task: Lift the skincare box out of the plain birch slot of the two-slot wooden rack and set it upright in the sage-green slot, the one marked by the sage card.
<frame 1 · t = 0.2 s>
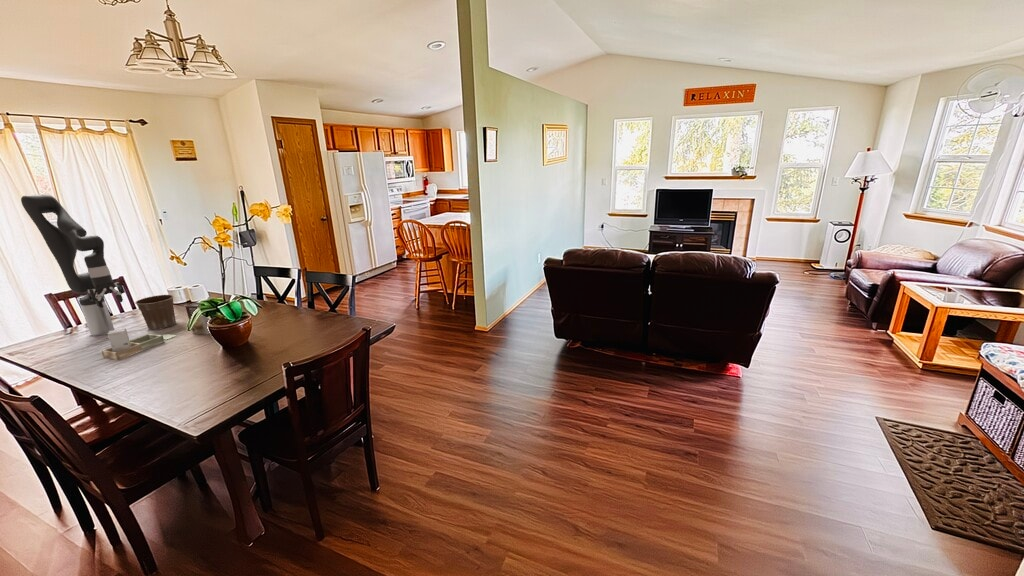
hand: (111, 304, 208), 17 cm above the table, tool pointing down, fingers open, 8 cm apart
two-slot rack: (135, 349, 197), on the table
coffee box: (204, 332, 217), on the table
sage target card: (166, 337, 211), on the table
skincare box: (124, 354, 193), resting in two-slot rack
plant pot: (162, 326, 226), on the table
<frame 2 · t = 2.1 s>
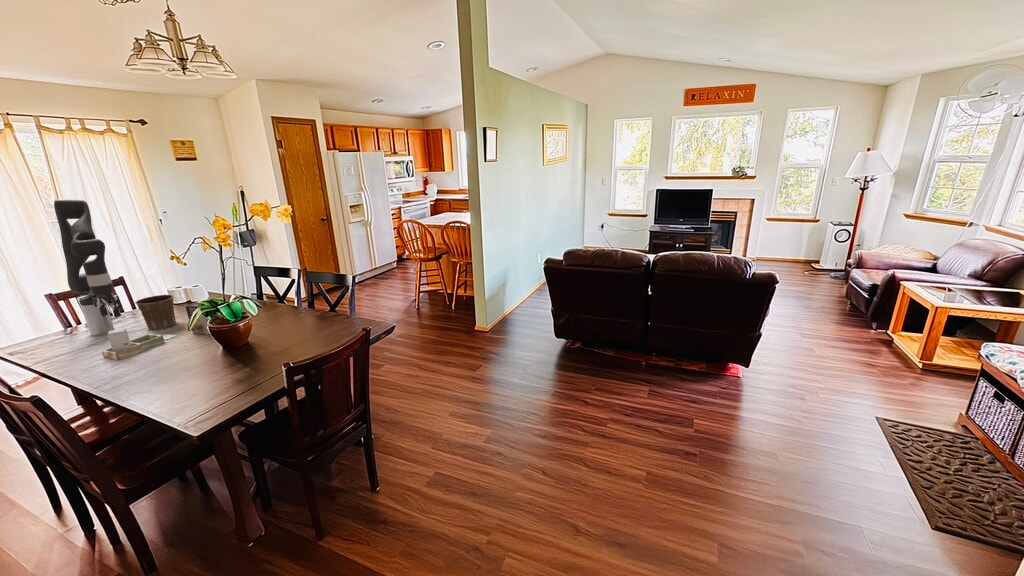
hand: (111, 316, 187), 20 cm above the table, tool pointing down, fingers open, 8 cm apart
nothing on the table moved.
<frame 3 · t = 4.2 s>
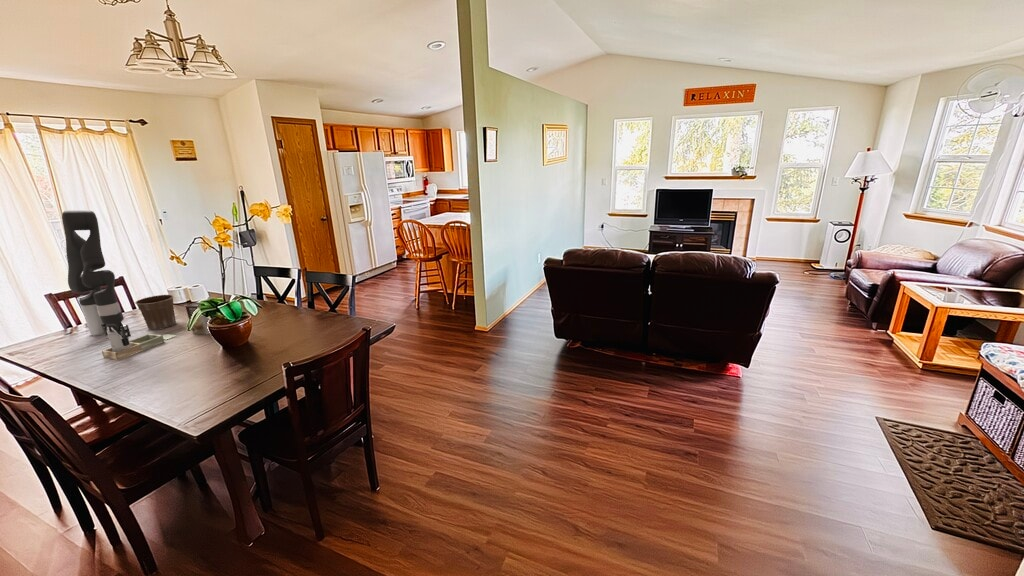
hand: (120, 344, 191), 5 cm above the table, tool pointing down, fingers closed on skincare box, 7 cm apart
skincare box: (124, 354, 193), resting in two-slot rack, touching gripper
everything else where it was.
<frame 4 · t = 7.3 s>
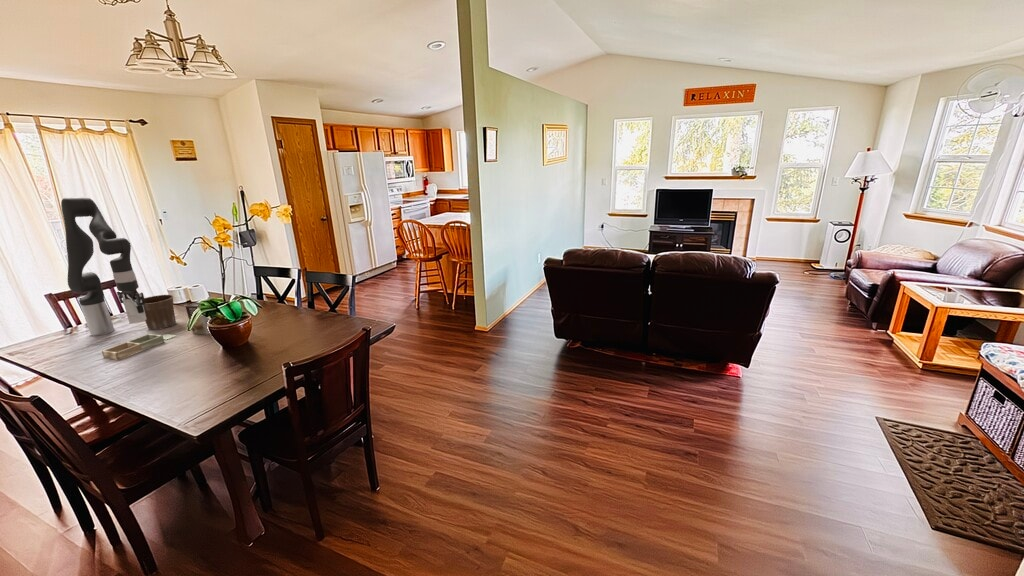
hand: (135, 312, 196), 18 cm above the table, tool pointing down, fingers closed on skincare box, 7 cm apart
skincare box: (138, 321, 198), point 13 cm above the table, touching gripper
everything else where it was.
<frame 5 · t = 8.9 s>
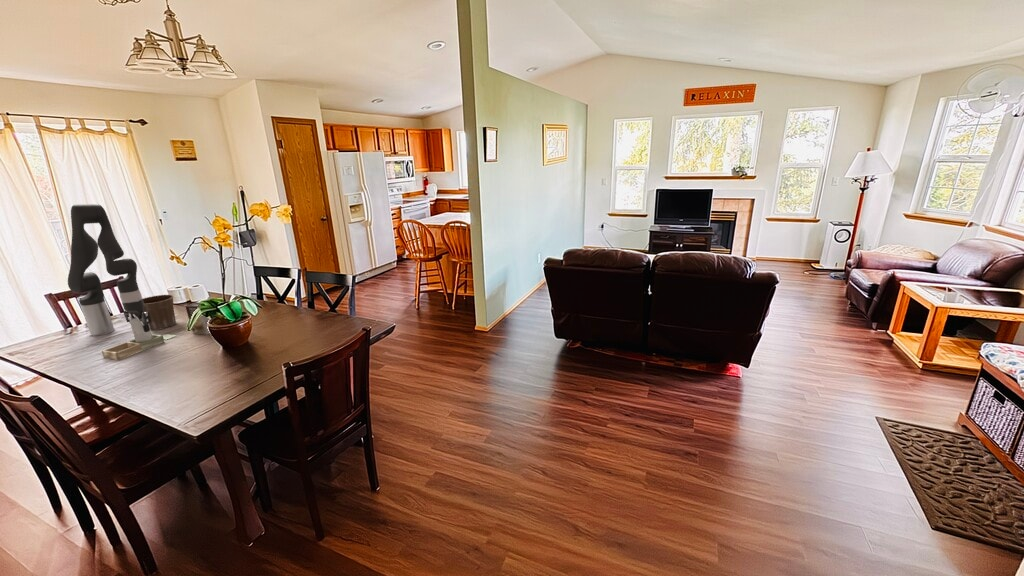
hand: (141, 330, 199), 8 cm above the table, tool pointing down, fingers closed on skincare box, 7 cm apart
skincare box: (144, 340, 201), point 3 cm above the table, touching gripper
everything else where it was.
when the fingers open (6 cm above the table, at t = 10.3 s): skincare box drops 1 cm, resting in two-slot rack.
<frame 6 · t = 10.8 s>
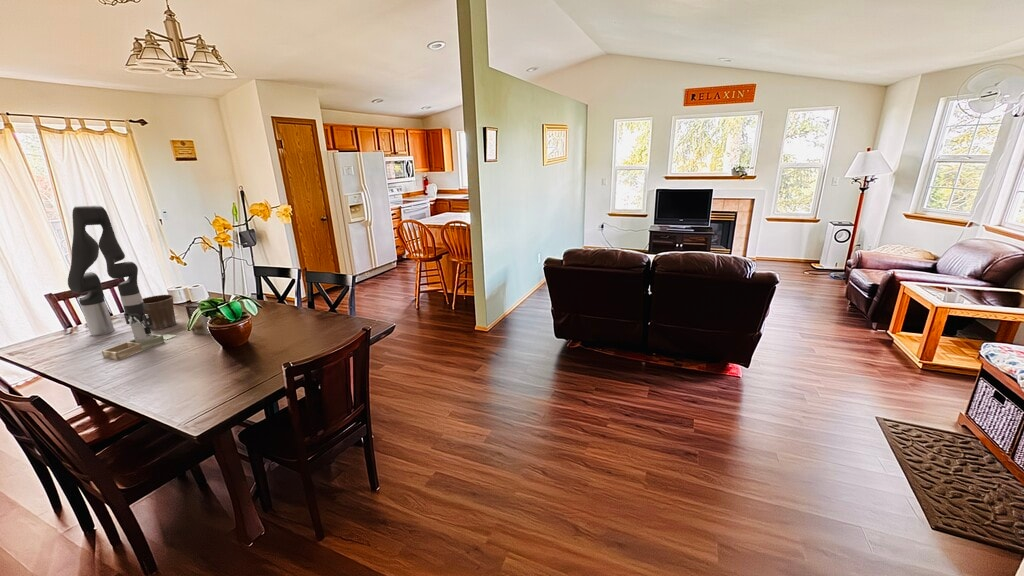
hand: (142, 332, 200), 7 cm above the table, tool pointing down, fingers open, 8 cm apart
skincare box: (146, 345, 202), resting in two-slot rack
everything else where it was.
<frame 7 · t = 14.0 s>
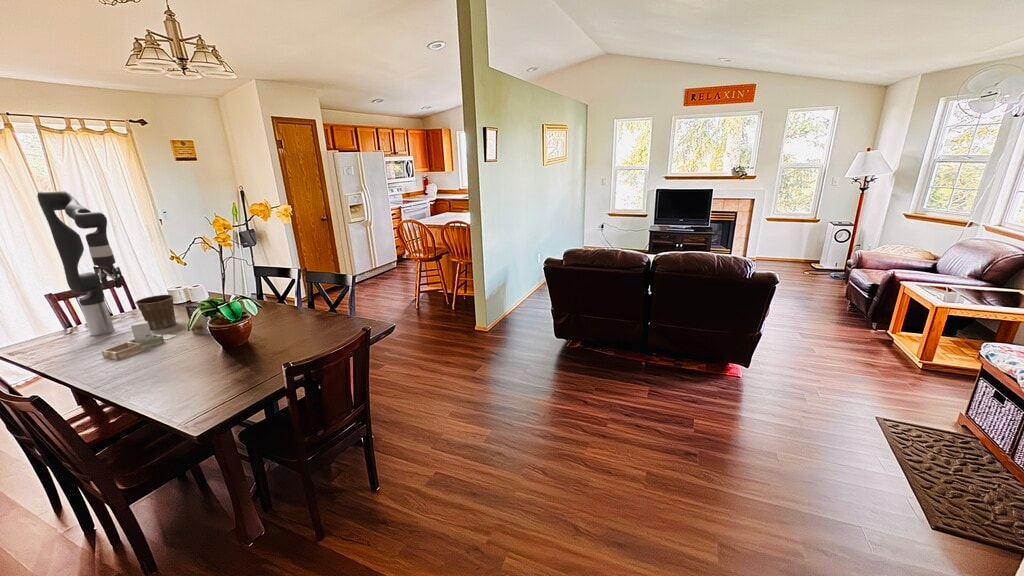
hand: (112, 287, 195), 30 cm above the table, tool pointing down, fingers open, 8 cm apart
nothing on the table moved.
at the end: skincare box inside the target area (0.3 cm from its centre), resting in two-slot rack; skincare box tilted 0°; the gripper is holding nothing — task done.
